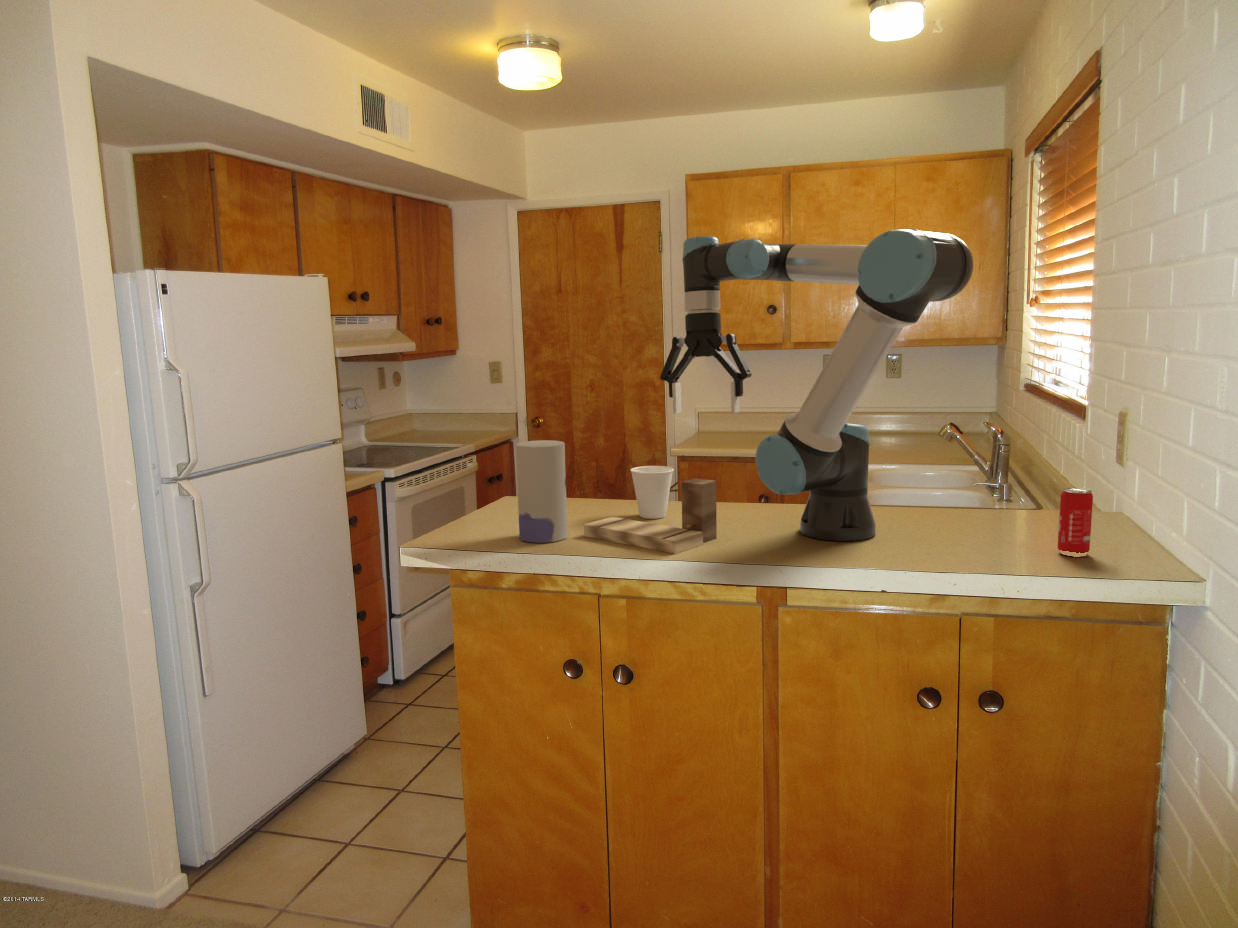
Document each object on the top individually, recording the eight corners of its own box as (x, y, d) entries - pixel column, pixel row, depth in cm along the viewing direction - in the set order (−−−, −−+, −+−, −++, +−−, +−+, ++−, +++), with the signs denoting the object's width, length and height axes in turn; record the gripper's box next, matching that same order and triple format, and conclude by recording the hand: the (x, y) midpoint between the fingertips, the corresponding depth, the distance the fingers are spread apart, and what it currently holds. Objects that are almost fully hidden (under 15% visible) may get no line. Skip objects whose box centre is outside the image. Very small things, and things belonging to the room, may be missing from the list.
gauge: (716, 538, 174) (716, 480, 172) (697, 545, 169) (697, 485, 167) (696, 535, 177) (696, 478, 175) (677, 541, 173) (677, 483, 171)
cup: (675, 520, 191) (674, 472, 189) (631, 521, 191) (630, 473, 189) (673, 511, 200) (672, 465, 199) (631, 512, 201) (630, 466, 199)
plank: (702, 544, 170) (702, 531, 169) (675, 553, 163) (675, 540, 163) (612, 527, 185) (612, 516, 185) (584, 535, 179) (583, 523, 178)
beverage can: (1072, 559, 154) (1076, 493, 152) (1050, 552, 158) (1054, 488, 157) (1095, 556, 155) (1100, 491, 153) (1073, 549, 160) (1077, 486, 158)
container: (577, 535, 179) (574, 441, 176) (547, 545, 171) (543, 447, 168) (540, 529, 185) (536, 438, 182) (509, 539, 177) (505, 444, 174)
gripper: (765, 309, 177) (767, 410, 180) (658, 316, 190) (662, 411, 192) (751, 308, 171) (754, 413, 174) (642, 315, 183) (646, 414, 186)
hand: (706, 412), depth 183 cm, fingers open, 13 cm apart
